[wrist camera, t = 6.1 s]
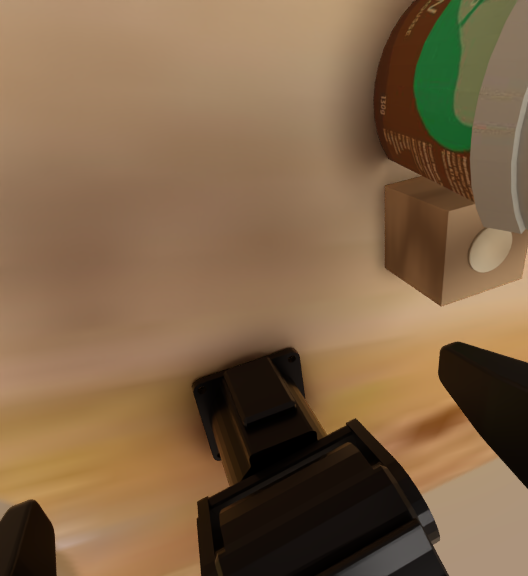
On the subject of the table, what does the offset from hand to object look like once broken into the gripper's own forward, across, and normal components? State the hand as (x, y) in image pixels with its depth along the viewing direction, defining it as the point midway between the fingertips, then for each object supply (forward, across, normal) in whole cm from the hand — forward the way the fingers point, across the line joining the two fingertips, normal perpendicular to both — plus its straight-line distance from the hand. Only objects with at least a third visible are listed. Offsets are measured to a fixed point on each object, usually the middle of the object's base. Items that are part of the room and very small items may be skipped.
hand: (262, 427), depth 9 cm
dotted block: (+13, -14, +3) cm, 19 cm away
